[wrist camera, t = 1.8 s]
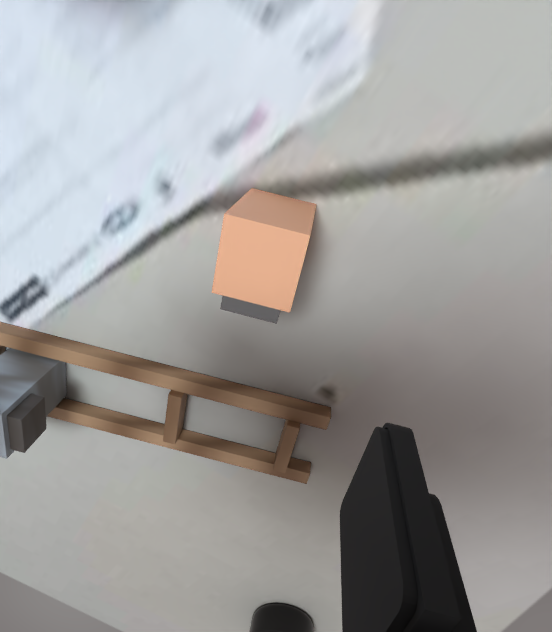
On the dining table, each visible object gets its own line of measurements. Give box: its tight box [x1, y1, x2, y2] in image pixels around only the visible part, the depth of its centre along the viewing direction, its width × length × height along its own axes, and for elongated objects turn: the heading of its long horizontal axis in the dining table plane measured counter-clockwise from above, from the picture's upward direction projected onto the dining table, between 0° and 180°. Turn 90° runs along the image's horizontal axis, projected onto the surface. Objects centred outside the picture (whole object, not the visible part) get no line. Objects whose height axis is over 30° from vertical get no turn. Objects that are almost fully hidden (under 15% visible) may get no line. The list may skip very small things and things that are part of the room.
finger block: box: [212, 188, 316, 324], centre depth 23 cm, size 5×4×7 cm
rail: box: [0, 322, 331, 484], centre depth 30 cm, size 30×7×7 cm, turn 77°
